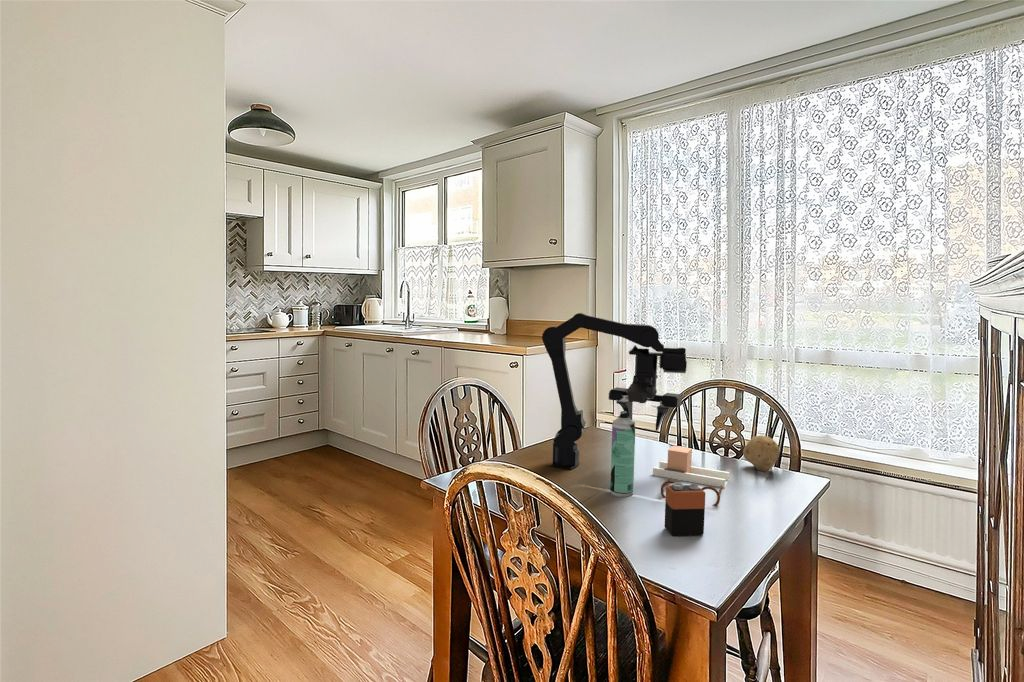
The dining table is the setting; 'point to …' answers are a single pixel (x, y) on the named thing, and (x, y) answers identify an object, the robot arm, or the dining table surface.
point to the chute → (694, 475)
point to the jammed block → (679, 458)
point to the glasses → (701, 488)
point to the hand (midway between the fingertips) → (643, 428)
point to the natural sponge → (761, 452)
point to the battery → (684, 509)
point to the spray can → (622, 456)
